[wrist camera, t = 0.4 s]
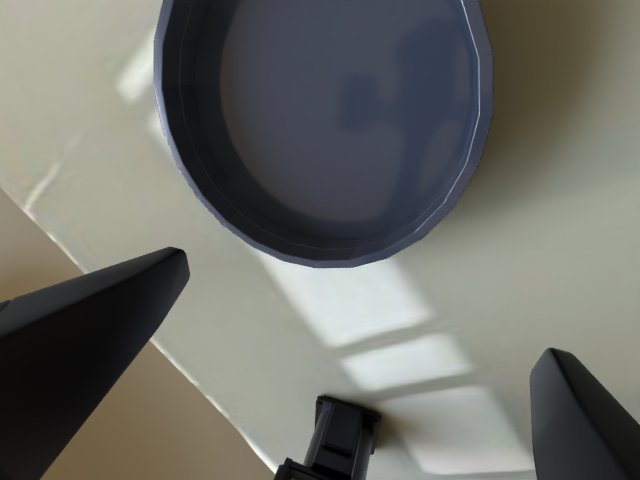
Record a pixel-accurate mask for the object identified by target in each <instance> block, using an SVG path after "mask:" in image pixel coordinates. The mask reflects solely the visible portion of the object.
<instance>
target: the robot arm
mask: <svg viewBox="0 0 640 480" xmlns="http://www.w3.org/2000/svg"><path fill="white" fill-rule="evenodd" d="M189 277H190V271H189V266H188V261H187V256H186V253H185V252H184V251H183V250H181V249H178V248H174V247H167V248H164V249H161V250H158V251H155V252H152V253H149V254H146V255H143V256H140V257H137V258H134V259H131V260H128V261H125V262H122V263H119V264H116V265H113V266H110V267H107V268H104V269H101V270H98V271H95V272H92V273H89V274H86V275H83V276H80V277H77V278H73V279H71V280H67V281H65V282H61V283H59V284H55V285H52V286H50V287H46V288H43V289H40V290H37V291H34V292H31V293H28V294H25V295H22V296H19V297H16V298H14V299H12V300H7V301H4V302H1V303H0V480H40V479H41V477H42V476H43V475H44V473H45V472H46V471H47V470H48V468H49V467H50V466H51V465H52V463H53V462H54V461H55V459H56V458H57V457H58V456H59V454H60V453H61V452H62V450H63V449H64V448H65V447H66V445H67V444H68V443H69V442H70V440H71V439H72V437H73V436H74V435H75V434H76V433H77V431H78V430H79V429H80V427H81V426H82V425H83V424H84V422H85V421H86V420H87V418H88V417H89V416H90V415H91V413H92V412H93V411H94V410H95V408H96V407H97V406H98V404H99V403H100V402H101V401H102V399H103V398H104V397H105V396H106V394H107V393H108V392H109V390H110V389H111V388H112V387H113V385H114V384H115V383H116V382H117V380H118V379H119V378H120V376H121V375H122V374H123V372H124V371H125V370H126V369H127V367H128V366H129V365H130V364H131V362H132V361H133V360H134V359H135V357H136V356H137V355H138V353H139V352H140V351H141V350H142V348H143V347H144V346H145V344H146V343H147V342H148V341H149V339H150V338H151V337H152V336H153V334H154V333H155V332H156V330H157V329H158V328H159V326H160V325H161V323H162V322H163V320H164V319H165V317H166V316H167V314H168V312H169V311H170V309H171V308H172V306H173V305H174V303H175V301H176V300H177V298H178V297H179V295H180V293H181V292H182V290H183V289H184V287H185V286H186V284H187V282H188V280H189ZM530 399H531V424H532V444H533V455H534V462H535V469H536V475H537V480H640V425H639V424H638V423H637V422H636V420H635V419H634V418H633V417H632V416H631V415H630V414H629V413H628V412H627V411H626V410H625V409H624V408H623V407H622V406H621V405H620V403H619V402H618V401H617V400H616V399H615V398H614V397H613V396H612V395H611V394H610V393H609V392H608V391H607V390H606V389H605V388H604V386H603V385H602V384H601V383H600V382H599V381H598V380H597V379H596V378H595V377H594V376H593V375H592V374H591V373H590V372H589V371H588V369H587V368H586V367H585V366H584V365H583V364H582V363H581V362H580V361H579V360H578V359H577V358H576V357H575V356H574V355H573V354H572V353H570V352H567V351H563V350H559V349H555V348H548V349H546V350H545V352H544V353H543V355H542V356H541V357H540V359H539V360H538V362H537V363H536V365H535V366H534V368H533V369H532V371H531V375H530ZM380 422H381V416H380V415H379V414H378V413H375V412H371V411H368V410H365V409H362V408H359V407H355V406H352V405H349V404H346V403H343V402H339V401H336V400H333V399H330V398H327V397H323V396H318V397H317V400H316V412H315V431H314V434H313V437H312V440H311V443H310V445H309V448H308V451H307V454H306V457H305V460H304V463H303V465H302V464H299V463H297V462H294V461H292V459H290V458H286V460H285V462H284V465H279V467H278V470H277V473H276V475H275V478H274V480H365V479H366V474H367V468H368V463H369V457H370V455H372V454H374V451H375V446H376V441H377V436H378V432H379V427H380Z"/></svg>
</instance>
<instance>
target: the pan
mask: <svg viewBox="0 0 640 480" xmlns="http://www.w3.org/2000/svg"><path fill="white" fill-rule="evenodd" d="M154 39H155V40H154V76H153V85H154V90H155V96H156V101H157V106H158V111H159V116H160V121H161V126H162V128H163V129H162V130H163V132H164V135H165V137H166V140H167V142H168V145H169V147H170V150H171V152H172V155H173V157H174V160H175V162H176V165H177V166H178V169H179V170H180V172H181V173H182V175H183V177H184V178H185V180H186V181H187V183H188V185H189V186H190V188H191V189H192V191H193V192H194V194H195V196H196V197H197V199H198V200H199V201H200V202H201V203H202V204H203V205H204V206H205V207H206V208H207V210H208V211H209V212H210V213H211V214H212V215H213V216H214V217H215V218H216V219H217V220H218V221H219V222H220V223H221V224H222V225H223V226H224V227H225V228H226V229H228V230H229V231H231V232H232V233H233V234H235V235H236V236H237V237H239V238H240V239H242V240H243V241H244V242H246V243H247V244H248V245H250V246H252V247H253V248H255V249H258V250H260V251H262V252H264V253H266V254H269V255H271V256H273V257H275V258H277V259H280V260H282V261H285V262H289V263H294V264H299V265H303V266H308V267H313V268H351V267H352V268H353V267H357V266H361V265H364V264H368V263H372V262H376V261H379V260H383V259H387V258H389V257H391V256H392V255H394V254H396V253H398V252H399V251H401V250H403V249H405V248H406V247H408V246H410V245H412V244H414V243H415V242H417V241H419V240H421V239H422V238H423V237H424V236H426V235H427V234H428V233H429V232H430V231H431V230H432V229H433V228H434V227H435V226H436V225H437V224H438V223H439V222H440V221H441V220H442V219H443V218H444V217H445V216H446V215H447V214H448V213H449V212H450V211H451V210H452V209H453V208H454V207H455V205H456V203H457V202H458V200H459V198H460V197H461V195H462V193H463V192H464V190H465V188H466V187H467V185H468V183H469V181H470V180H471V178H472V176H473V175H474V173H475V171H476V170H477V168H478V165H479V163H480V160H481V156H482V152H483V149H484V145H485V142H486V138H487V135H488V131H489V127H490V124H491V120H492V117H493V111H494V54H493V48H492V44H491V41H490V37H489V34H488V30H487V27H486V23H485V19H484V16H483V12H482V9H481V5H480V2H479V0H163V3H162V7H161V11H160V16H159V20H158V24H157V28H156V33H155V37H154Z"/></svg>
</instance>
